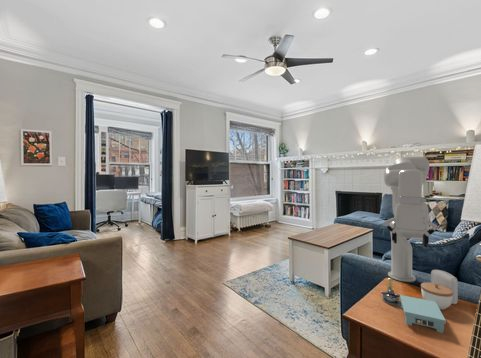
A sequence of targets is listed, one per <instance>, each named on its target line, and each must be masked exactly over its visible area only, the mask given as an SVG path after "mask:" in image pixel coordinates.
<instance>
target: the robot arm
mask: <svg viewBox="0 0 481 358" xmlns="http://www.w3.org/2000/svg"><path fill="white" fill-rule="evenodd" d="M429 171H430V162H429V160H428V158H427V157H425V156H403V157H399V158H396V159H395V160H394V162H393V164H392V165H390V166H387V167H386V168H385V170H384V174H383V182H384V184H385V185H386V187H390V190H391V194H392V199H391V200H392V214H393V216H394V217H391V218H388V219H386V220H384V221H383V223H384V224H385V227H386V228H387V229H388V230H389V232H390V239H391V241H390V242H391V243H390V244H391V245H390V246H391V251H390V252H391V254H390V255H391V256H390V257H391V258H390V260H391V261H390V262H391V263H390V264H391V268H390V271H388V272H387V276H388V278H392V280H395V281H398V282H404V283H413V282H416V276H415V275H413V246H412V244H411V243H410V241H409V240H408V239H413V240H421V241H422V245H423V247H427V245H429V243H430V242H429V241H430V239H429V237H430V236H431V235H432V234H434V233H435V231H436V230H437V228H438V227H439V226H438V225H437V224H436V223H434V222H432V221H430V217H429V215H430V214H429V213H430V211H429V206H428V204H427V198H424V197H423V194H422V193H423V192H422V191H423V185H424V184H425V182H426V181H427V178H428V174H429Z"/></svg>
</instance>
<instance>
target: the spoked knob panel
mask: <svg viewBox="0 0 481 358" xmlns="http://www.w3.org/2000/svg"><path fill="white" fill-rule="evenodd" d="M399 295H400V297H399V302H398V303H391V302H388V301H386V300H384V299H383V296H382V297H381V300H382V302H384V303H386V304H387V305H391V306H396V307H398V308H399V309H401V310H403V314H404V316H405V317H404V318H405V320H404V322H405V325H407V326H413V324H415V325H420V326H422V327H423V326H425V327H428V328H433V329H435V330H436V332H437V333H441V334H444V331H445V325H446V323H447V320H446V317H444V315H443V313H442V311H441V310H440V309H439V307H438V306H437V304H436V302H434V301H429V300H424V299H423V298H418V297H412V296H407V295H403V294H399Z"/></svg>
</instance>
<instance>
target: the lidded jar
mask: <svg viewBox="0 0 481 358" xmlns="http://www.w3.org/2000/svg"><path fill="white" fill-rule="evenodd" d="M420 289H421V296H422V299H424V300H429V301H434V302H436V304H437V306H438V307H439V309H440V311H441V310H446V309H447V308H449V307H450V306H451V305H452V304H451V303H452V300H453V291H452V290H451V289H450V288H448V287H446V286H443V285H440V284H436V283H431V282H422V283H421V284H420Z"/></svg>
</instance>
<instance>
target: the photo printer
mask: <svg viewBox="0 0 481 358" xmlns="http://www.w3.org/2000/svg"><path fill="white" fill-rule="evenodd" d="M430 283H436V284H440V285H443V286H446V287H448V288H450V289H451V290H452V291H453V300H452V303H451V305H457V303H458V301H459V300H458V299H459V295H458V293H459V292H458V291H459V289H458V287H459V283H458V279H457V277H455V276H454V275H453V274H451V273H449V272H447V271H445V270H441V269H432V270H431V272H430Z"/></svg>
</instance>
